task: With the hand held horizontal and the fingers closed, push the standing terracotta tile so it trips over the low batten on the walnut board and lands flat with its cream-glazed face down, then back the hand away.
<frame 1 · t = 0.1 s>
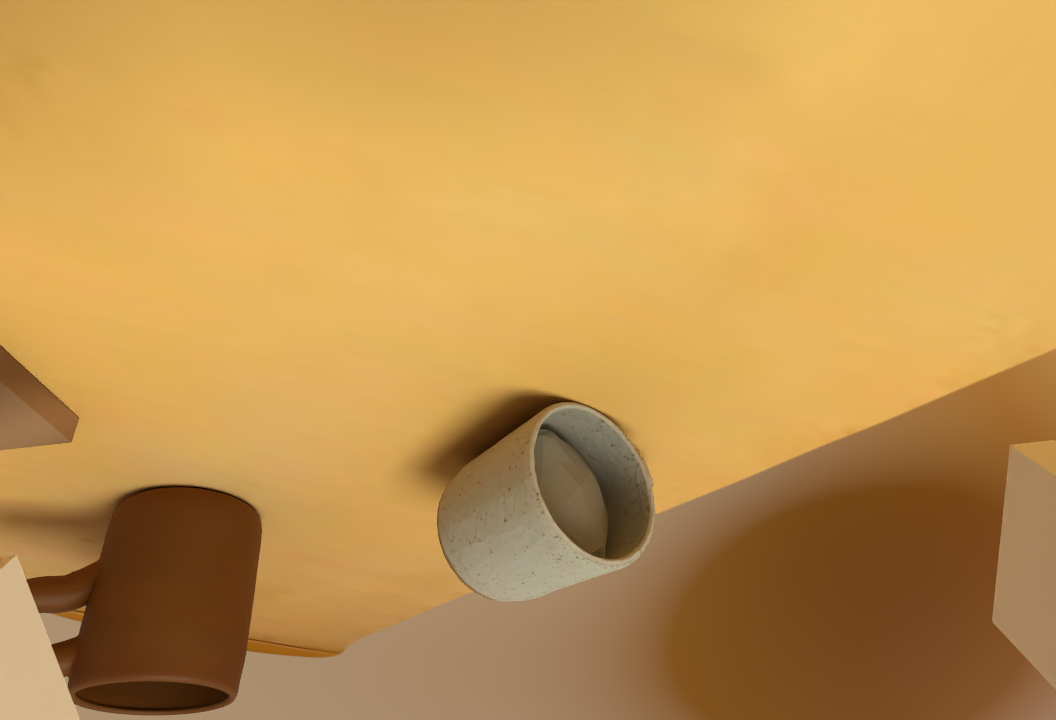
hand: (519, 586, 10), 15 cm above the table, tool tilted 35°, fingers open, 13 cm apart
mug: (148, 505, 40), on the table
ceramic mug: (557, 441, 38), on the table
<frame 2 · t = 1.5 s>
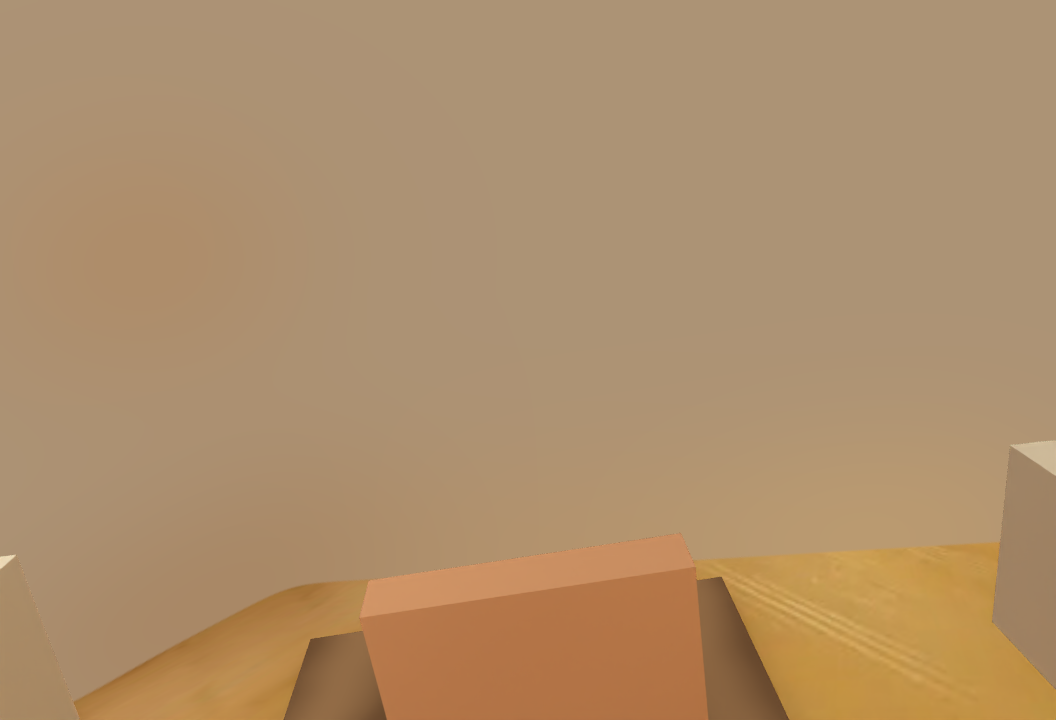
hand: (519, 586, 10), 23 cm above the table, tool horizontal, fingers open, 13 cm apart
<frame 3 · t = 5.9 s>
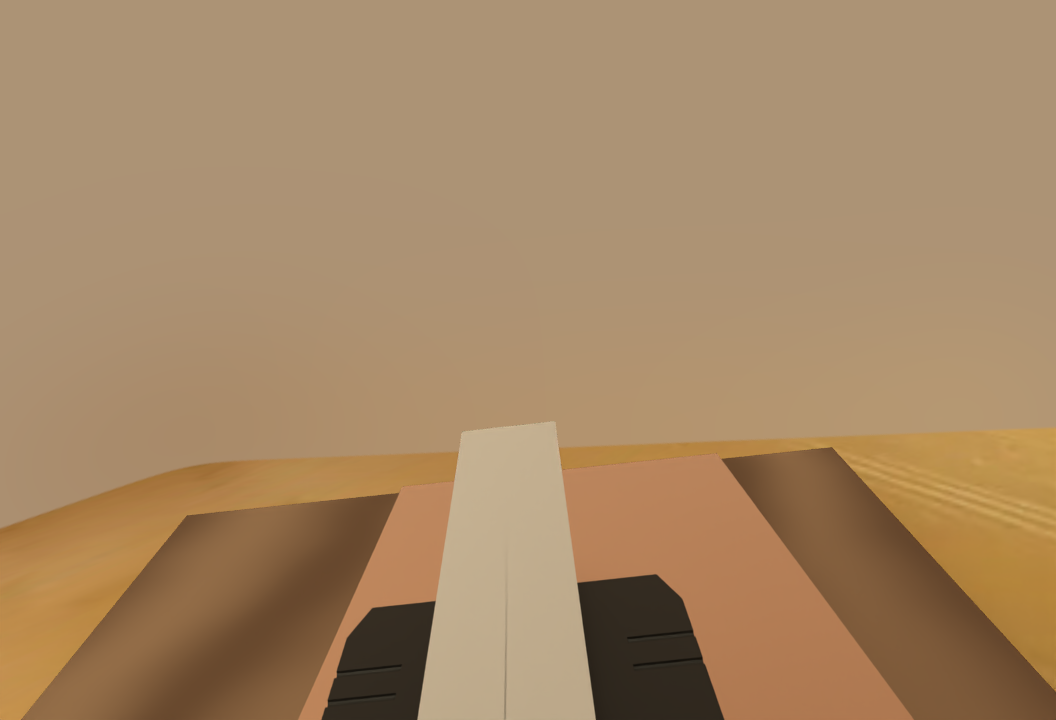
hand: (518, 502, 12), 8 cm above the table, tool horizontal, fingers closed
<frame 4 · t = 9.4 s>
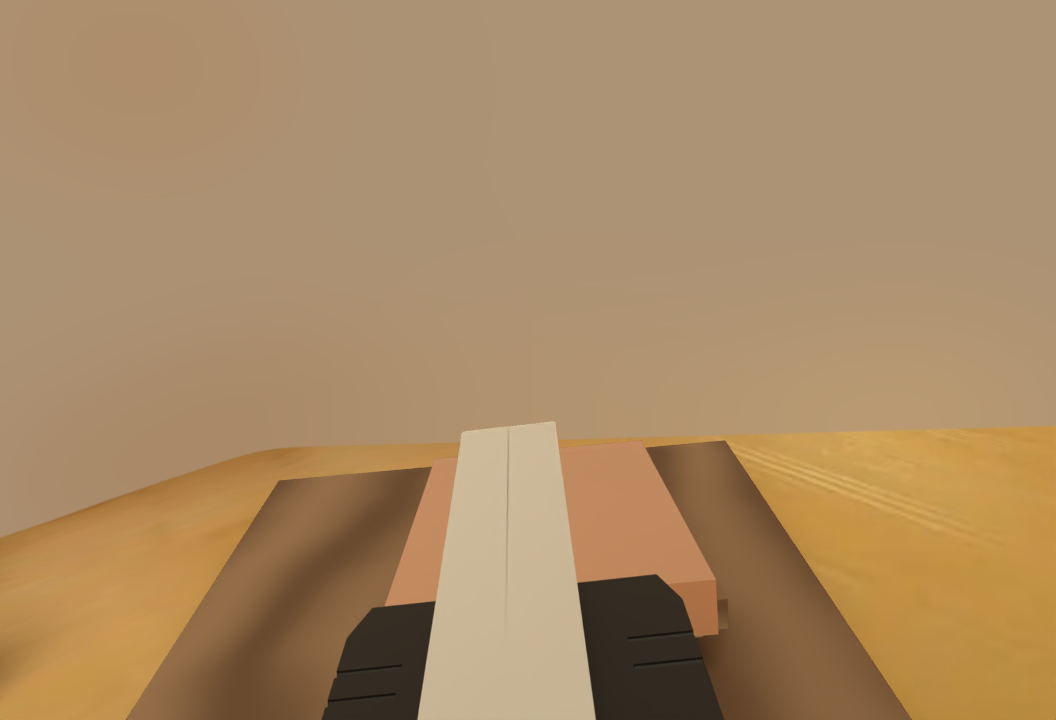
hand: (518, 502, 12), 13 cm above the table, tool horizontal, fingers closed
board: (501, 599, 31), on the table
tile: (552, 626, 23), point 4 cm above the table, tilted 97°, touching board
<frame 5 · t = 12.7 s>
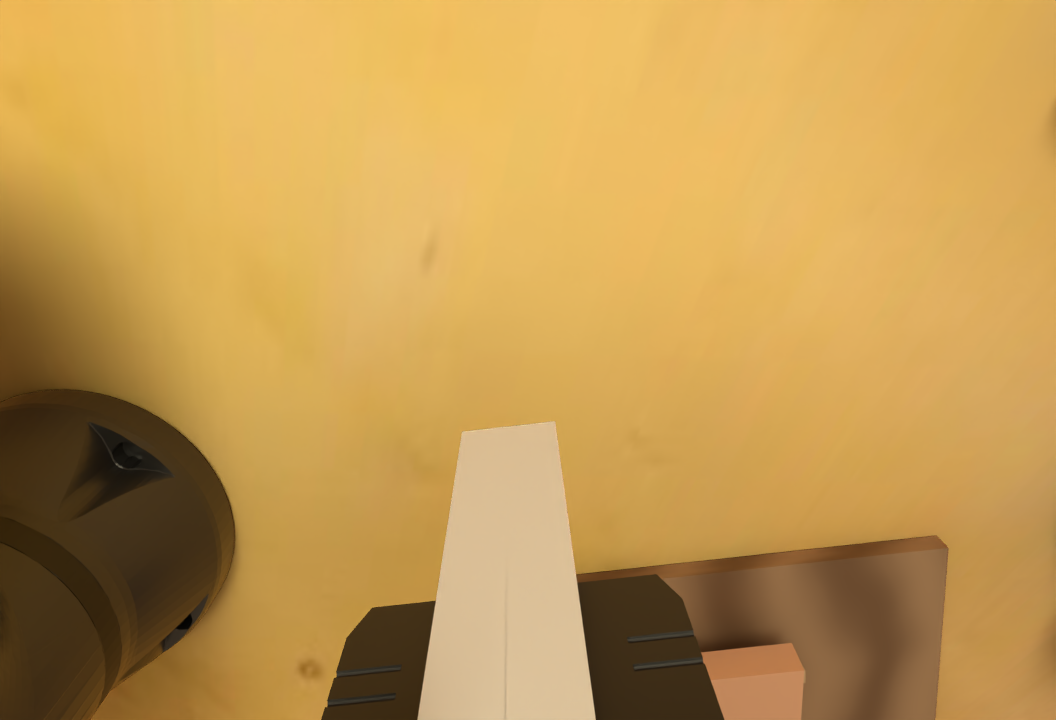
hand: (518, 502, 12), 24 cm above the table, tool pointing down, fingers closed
board: (722, 710, 45), on the table
tile: (699, 664, 39), point 4 cm above the table, tilted 97°, touching board
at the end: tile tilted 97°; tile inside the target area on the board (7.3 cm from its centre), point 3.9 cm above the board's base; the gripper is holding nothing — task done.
